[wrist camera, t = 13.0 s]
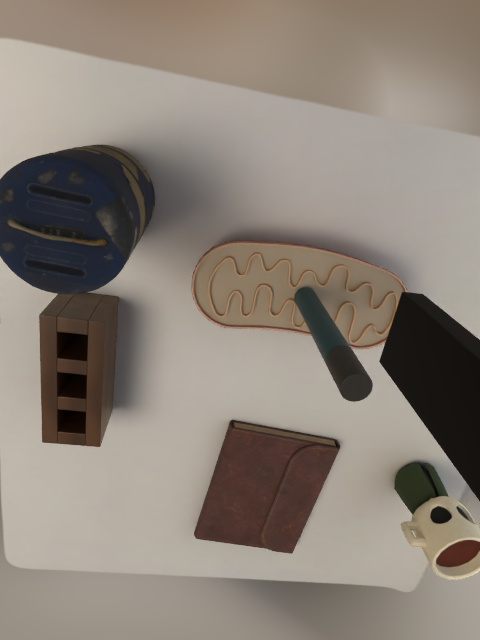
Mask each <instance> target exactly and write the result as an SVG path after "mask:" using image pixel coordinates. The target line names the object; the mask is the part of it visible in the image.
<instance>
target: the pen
mask: <svg viewBox="0 0 480 640" xmlns="http://www.w3.org/2000/svg"><path fill="white" fill-rule="evenodd" d="M294 300H295V302H296V305H297V307H298V309H299V311H300V313H301V315H302V317H303V319H304V321H305V323H306V325H307V327H308V329H309V331H310V333H311V335H312V337H313V339H314V341H315V343H316V345H317V347H318V349H319V351H320V353H321V355H322V357H323V359H324V361H325V363H326V365H327V367H328V369H329V371H330V373H331V375H332V377H333V379H334V381H335V383H336V385H337V387H338V389H339V391H340V393H341V395H342V396H343V398H345V399H346V400H348V401H360V400H363V399H364V398H366V397H367V396H368V395H369V394H370V393H371V391H372V386H373V383H372V380H371V378H370V377H369V375H368V374H367V372H366V371H365V369H364V368H363V366H362V364H361V363H360V361H359V360H358V358H357V357H356V355H355V354H354V352H353V351H352V349H351V347H350V346H349V344H348V343H347V341H346V340H345V338H344V337H343V335H342V333H341V332H340V330H339V329H338V327H337V326H336V324H335V323H334V321H333V319H332V318H331V316H330V315H329V313H328V312H327V310H326V309H325V307H324V306H323V304H322V302H321V301H320V299H319V298H318V296H317V295H316V293H315V292H314V290H313V289H311V288H309V287H303V288H300V289H299V290H298V291H297V292H296V293H295V296H294Z"/></svg>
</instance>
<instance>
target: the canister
mask: <svg viewBox="0 0 480 640" xmlns="http://www.w3.org/2000/svg"><path fill="white" fill-rule="evenodd" d="M154 206H155V195H154V189H153V185H152V182H151V179H150V177H149V175H148V173H147V172H146V170H145V169H144V167H143V166H142V165H141V164H140V163H139V161H138V160H136V159H135V158H134V157H133V156H132V155H130V154H129V153H127V152H126V151H124V150H121V149H119V148H116V147H113V146H108V145H92V146H84V147H76V148H72V149H67V150H62V151H58V152H55V153H49V154H45V155H41V156H37V157H33V158H30V159H27V160H25V161H23V162H21V163H19V164H18V165H16V166H14V167H13V168H11V169H10V170H9V171H8V172H6V174H5V175H4V176H3V177H2V178H1V179H0V257H1V258H2V259H3V261H4V262H5V263H6V264H7V265H8V267H9V268H10V269H11V270H12V271H13V272H14V273H15V274H16V275H17V276H19V277H20V278H21V279H23V280H24V281H26V282H27V283H29V284H30V285H32V286H34V287H36V288H39V289H41V290H45V291H48V292H52V293H57V294H81V293H86V292H89V291H93V290H96V289H98V288H100V287H102V286H104V285H105V284H107V283H109V282H110V281H111V280H113V279H114V278H115V277H116V276H117V275H118V274H119V272H120V271H121V270H122V268H123V267H124V265H125V264H126V262H127V260H128V259H129V257H130V255H131V253H132V252H133V250H134V248H135V246H136V245H137V243H138V242H139V240H140V238H141V236H142V235H143V232H144V230H145V228H146V227H147V225H148V223H149V222H150V220H151V217H152V214H153V211H154Z"/></svg>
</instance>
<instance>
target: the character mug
mask: <svg viewBox="0 0 480 640" xmlns="http://www.w3.org/2000/svg"><path fill="white" fill-rule="evenodd" d="M424 464H425V465H426V467H427V469H428V470H424V469H421V467H420V465H419V463H414V464H411V465H408V466H406V467H405V468H403V469H402V470H401V471H400V472H398V475H397V477H396V479H395V490H396V491H397V493H398V494H399V496H400V498H401V499H402V500H403V502H404V503H405V505H406V506H407V507H408V509H409V510H410V512H411V513H412V514H413V516H412V522H403V523H401V527H402V530H403V532H404V535H405V537H406V539H407V541H408V543H409V544H410V545H411V546H413V547H422V549H423V551H424V553H425V555H426V557H427V559H428V561H429V563H430V565H431V567H432V569H433V570H434V572H435V574H437V575H438V576H440V577H442V578H444V579H450V580H456V579H464V578H467V577H469V576H472V575H474V574H476V573H477V572H479V571H480V523H475V521H474V520H473V518H472V517H471V515H470V513H469V511H468V510H467V509H466V508H465V507H464V506H463V505H462V504H461V503H460V502H458V501H457V500H455V499H453V498H451V497H449V496H448V494H447V492H446V490H445V487H444V485H443V483H442V481H441V479H440V477H439V475H438V474H437V472H436V470H435V469H434V467H433V466H431V465H429V464H427V463H424ZM411 530H413V531H414V533H415V535H416V537H417V538H416V537H414V535H413V533H412V531H411Z"/></svg>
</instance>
